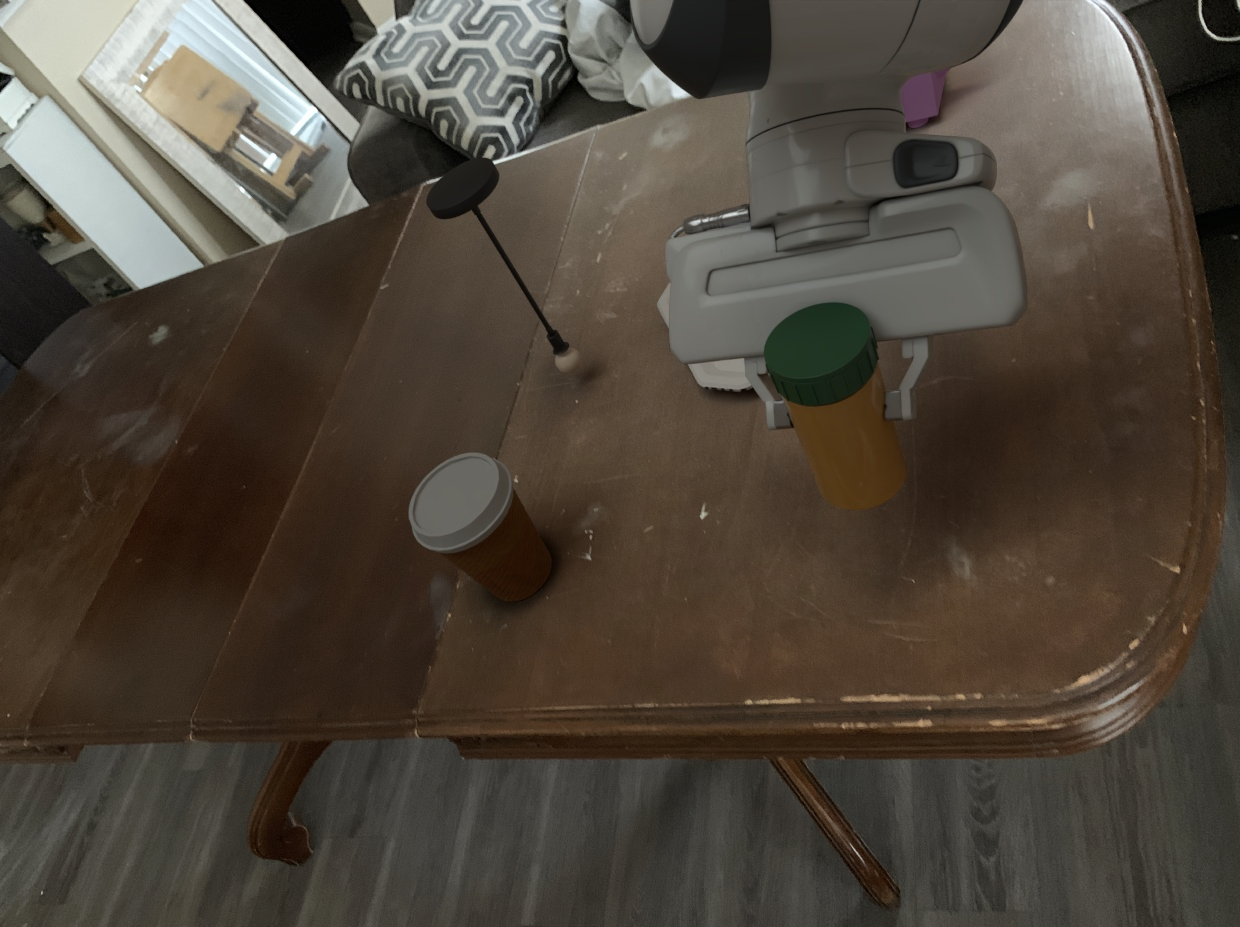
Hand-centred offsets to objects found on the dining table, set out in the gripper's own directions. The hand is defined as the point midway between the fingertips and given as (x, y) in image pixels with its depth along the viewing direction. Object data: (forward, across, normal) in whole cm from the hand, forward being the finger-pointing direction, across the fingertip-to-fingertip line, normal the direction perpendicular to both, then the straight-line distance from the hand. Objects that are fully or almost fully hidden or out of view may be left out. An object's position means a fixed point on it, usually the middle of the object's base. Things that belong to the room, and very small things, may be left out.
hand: (840, 424), depth 54 cm
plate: (-10, -13, +32) cm, 36 cm away
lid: (-5, 0, -4) cm, 6 cm away
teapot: (-30, -5, +52) cm, 60 cm away
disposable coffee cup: (+12, -32, +10) cm, 35 cm away
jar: (+4, 0, +5) cm, 6 cm away
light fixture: (-4, -33, +27) cm, 43 cm away
